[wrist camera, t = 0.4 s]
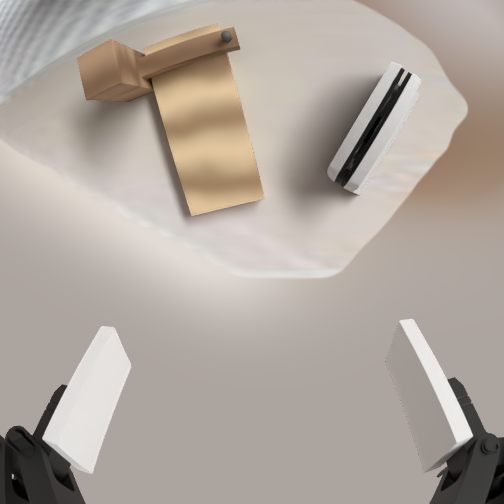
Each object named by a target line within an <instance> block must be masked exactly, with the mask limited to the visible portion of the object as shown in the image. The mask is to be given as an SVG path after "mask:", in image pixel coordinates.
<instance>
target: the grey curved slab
mask: <svg viewBox="0 0 504 504" xmlns="http://www.w3.org/2000/svg"><path fill="white" fill-rule="evenodd" d="M404 71H405V70H404V69H403V68H402V65H399V64H397V63H394V62H391V63H390V65H389V67H388V68H387V70H386V71H385V73H384V75H383V76H382V78H381V79H380V81H379V83H378V84H377V86H376V88H375V89H374V91H373V93H372V94H371V96H370V98H369V99H368V101H367V103H366V104H365V106H364V108H363V109H362V111H361V113H360V114H359V116H358V118H357V119H356V121H355V123H354V124H353V126H352V128H351V129H350V131H349V133H348V135H347V136H346V138H345V140H344V141H343V143H342V145H341V146H340V148H339V150H338V152H337V153H336V155H335V157H334V158H333V160H332V162H331V164H330V165H329V167H328V169H327V176H328V177H329V178H330V179H331V180H332V181H333V182H335V181H337V182H339V180H340V179H341V177H342V175H343V174H344V172H345V170H346V169H349V170H350V172H349V173H348V175H347V176H346V178H345V179H344V181H343V183H342V184H341V185H343V186H344V187H343V188H344V189H346V190H348V191H350V192H353V193H355V194H357V195H359V196H360V195H361V193H362V192H363V190H364V188H365V187H366V185H367V184H368V182H369V181H370V179H371V177H372V176H373V174H374V173H375V171H376V169H377V168H378V166H379V165H380V163H381V161H382V160H383V158H384V156H385V155H386V153H387V151H388V150H389V148H390V146H391V145H392V143H393V141H394V140H395V138H396V136H397V135H398V133H399V131H400V129H401V128H402V126H403V124H404V123H405V121H406V119H407V117H408V116H409V114H410V112H411V110H412V108H413V107H414V105H415V103H416V101H417V99H418V98H419V96H420V95H419V93H418V92H417V89H418V87H419V85H420V83H421V80H420V79H419V78H418V77H417V76H416V75H415V74H414V73H412V74H410V73H409V72H408V74H407V76H406V77H405V79H404V81H403V82H402V84H401V86H400V87H399V86H398V85H397V84H398V82H399V80H400V78H401V76H402V74H403V72H404ZM378 116H379V117H381V118H382V119H381V121H380V123H379V124H378V126H377V128H376V129H375V131H374V133H373V134H372V136H371V138H370V139H369V141H368V143H367V144H365V143H363V140H364V139H365V137H366V136H367V134H368V132H369V131H370V129H371V127H372V126H373V124H374V122H375V120H376V119H377V117H378Z"/></svg>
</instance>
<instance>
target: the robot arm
mask: <svg viewBox="0 0 504 504" xmlns="http://www.w3.org/2000/svg"><path fill="white" fill-rule="evenodd" d="M385 362H386V365H387V367H388V370H389V372H390V375H391V377H392V380H393V383H394V385H395V388H396V390H397V393H398V396H399V398H400V401H401V404H402V407H403V409H404V412H405V415H406V418H407V421H408V424H409V427H410V430H411V433H412V435H413V438H414V442H415V445H416V448H417V451H418V454H419V458H420V461H421V464H422V468H423V471H424V473H425V472H428V471H431V470H433V469H436V468H438V467H440V466H441V465H442V464H444V463H445V462H447V467H446V468H445V469H443V470H442V471H441V472H440V473H439V474H438V475H437V477H440V476H441V475H442V474H443V476H442V478H441V480H440V483H439V485H438V487H437V489H436V491H435V494H434V496H433V498H432V500H431V502H430V504H504V437H502V438H497V437H496V436H495V435H493V434H491V433H487V432H486V431H485V429H484V427H483V425H482V423H481V421H480V419H479V417H478V414H477V412H476V410H475V408H474V406H473V404H471V400H470V398H469V396H467V395H468V394H467V392H466V390H465V388H464V386H463V385H462V384H461V383H460V382H459V381H458V380H457V379H456V378H455V377H454V378H451V379H448V380H447V379H446V377H445V375H444V373H443V371H442V369H441V367H440V366H439V364H438V362H437V360H436V358H435V356H434V355H433V353H432V351H431V349H430V348H429V346H428V344H427V342H426V340H425V339H424V337H423V335H422V334H421V332H420V330H419V328H418V327H417V325H416V323H415V322H414V320H413V319H407V320H400V321H399V322H398V325H397V328H396V331H395V334H394V337H393V340H392V343H391V346H390V349H389V352H388V355H387V357H386V360H385ZM130 369H131V364H130V362H129V360H128V358H127V355H126V353H125V351H124V349H123V346H122V344H121V342H120V339H119V337H118V335H117V332H116V330H115V328H114V327H105V326H101V328H100V329H99V331H98V333H97V335H96V336H95V338H94V340H93V341H92V343H91V345H90V347H89V348H88V350H87V352H86V353H85V355H84V357H83V359H82V360H81V362H80V364H79V366H78V368H77V370H76V371H75V373H74V375H73V377H72V379H71V380H70V382H69V384H68V386H66V385H61V386H60V387H59V388H58V389H57V390H56V391H55V392H54V394H53V396H52V398H51V400H50V403H48V405H47V407H46V410H45V411H44V413H43V416H42V417H41V419H40V421H39V424H38V426H37V428H36V430H35V432H34V434H33V435H31V434H30V433H29V432H28V431H27V430H26V429H24V427H21V426H14V427H12V428H11V429H9V431H8V432H7V434H6V437H5V439H4V438H3V437H2V436H1V435H0V504H85V501H84V499H83V497H82V495H81V493H80V490H79V488H78V486H77V483H76V481H75V478H74V475H73V473H72V471H71V469H70V468H69V467H70V465H71V464H72V465H73V466H74V467H75V468H77V469H79V470H81V471H84V472H87V473H90V474H92V473H93V469H94V466H95V463H96V460H97V457H98V454H99V451H100V448H101V445H102V442H103V439H104V437H105V433H106V431H107V428H108V426H109V423H110V420H111V417H112V415H113V412H114V409H115V407H116V404H117V401H118V399H119V396H120V394H121V391H122V388H123V386H124V383H125V381H126V379H127V376H128V373H129V371H130ZM12 474H14V479H12Z"/></svg>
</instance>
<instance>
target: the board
mask: <svg viewBox="0 0 504 504" xmlns="http://www.w3.org/2000/svg"><path fill="white" fill-rule="evenodd" d="M216 31H220V27H219V25H218V23H217V24H213V25H209V26H206V27H203V28H199V29H196V30H193V31H190V32H187V33H184V34H181V35H178V36H175V37H172V38H169V39H167V40H164V41H161V42H159V43H156V44H154V45H151V46H149V47H146V48H144V52H145V56H146V55H148V54H151V53H153V52H156V51H158V50H161V49H164V48H166V47H169V46H172V45H175V44H177V43H180V42H183V41H186V40H189V39H192V38H196V37H199V36H202V35H205V34H209V33H213V32H216ZM151 80H152V84H153V88H154V91H155V95H156V99H157V103H158V106H159V110H160V114H161V117H162V121H163V124H164V128H165V131H166V135H167V138H168V142H169V145H170V148H171V152H172V155H173V158H174V162H175V165H176V168H177V172H178V175H179V178H180V181H181V185H182V188H183V191H184V194H185V197H186V200H187V203H188V206H189V210H190V213H191V216H195V215H199V214H203V213H207V212H211V211H215V210H219V209H223V208H227V207H231V206H235V205H240V204H244V203H248V202H253V201H257V200H262V199H264V193H263V189H262V185H261V180H260V176H259V172H258V168H257V164H256V160H255V156H254V152H253V148H252V145H251V141H250V137H249V133H248V129H247V125H246V121H245V117H244V114H243V110H242V106H241V102H240V99H239V95H238V91H237V87H236V84H235V80H234V76H233V73H232V69H231V66H230V62H229V58H228V55H227V53H224V54H220V55H216V56H213V57H209V58H206V59H202V60H199V61H196V62H193V63H190V64H186V65H183V66H181V67H178V68H175V69H172V70H169V71H166V72H164V73H161V74H158V75H156V76H153V77H151Z"/></svg>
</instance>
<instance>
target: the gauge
mask: <svg viewBox="0 0 504 504" xmlns="http://www.w3.org/2000/svg"><path fill="white" fill-rule="evenodd" d="M235 50H240V46H239V43H238V39H237V36H236V32H235V29H234V27H232V28H228V29H224V30H220V31H216V32H213V33H209V34H205V35H202V36H199V37H196V38H192V39H189V40H186V41H183V42H180V43H177V44H175V45H172V46H169V47H166V48H164V49H161V50H158V51H156V52H153V53H151V54H148V55H146V56H145V55H144V54H142V53H140V52H138V51H136V50H134V49H131V48H129V47H127V46H125V45H123V44H120V43H118V42H116V41H113V40H109V41H107V42H105V43H103V44H101V45H99V46H97V47H96V48H94V49H92V50H90V51H89V52H87V53H85V54H83V55H82V56H80V57H78V64H79V69H80V74H81V79H82V84H83V88H84V93H85V97H86V100H103V101H125V102H129V101H131V100H133V99H135V98H138V97H140V96H143V95H145V94H148V93H150V92H153V91H154V88H153V84H152V80H151V77H153V76H156V75H158V74H161V73H164V72H166V71H169V70H172V69H175V68H178V67H181V66H183V65H186V64H190V63H193V62H196V61H199V60H202V59H206V58H209V57H213V56H216V55H220V54H224V53H227V52H231V51H235Z"/></svg>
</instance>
